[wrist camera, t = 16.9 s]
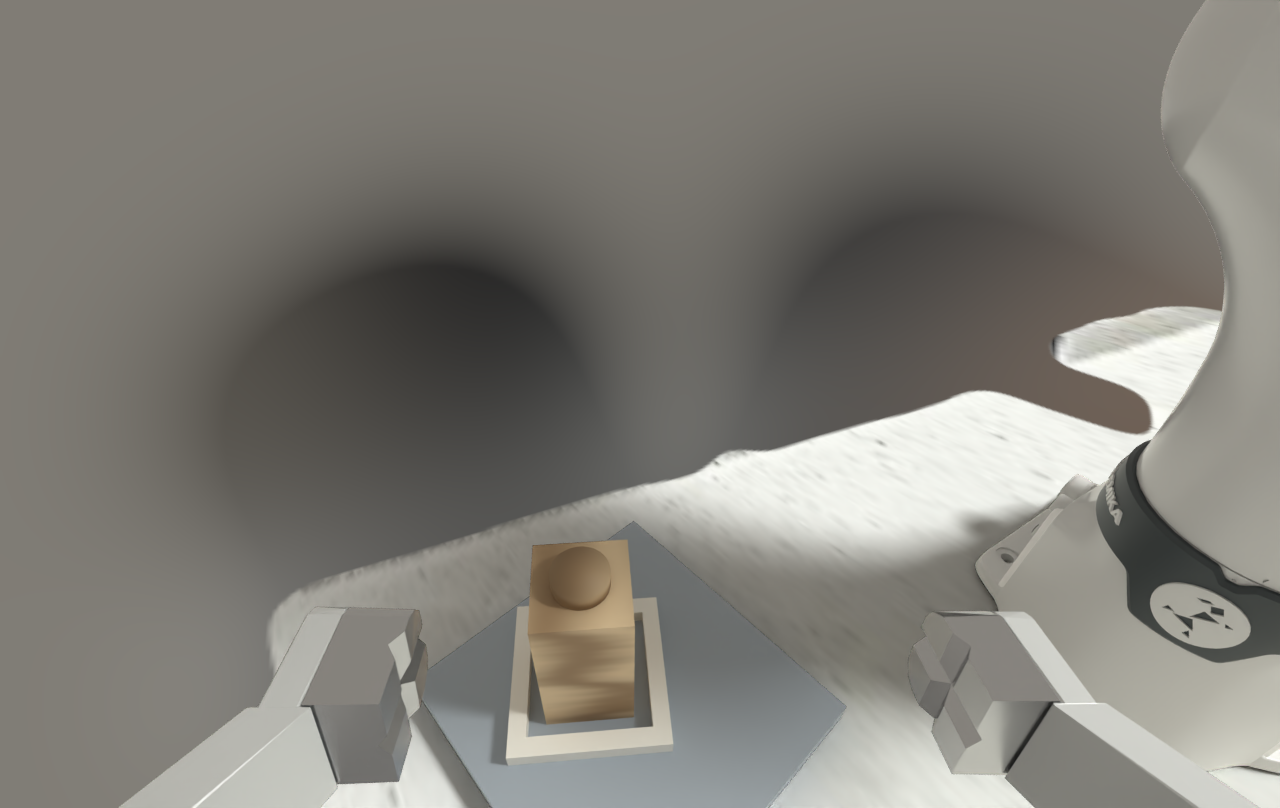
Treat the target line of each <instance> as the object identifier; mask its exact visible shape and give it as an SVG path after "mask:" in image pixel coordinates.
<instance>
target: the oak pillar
mask: <svg viewBox="0 0 1280 808" xmlns="http://www.w3.org/2000/svg"><path fill="white" fill-rule="evenodd" d="M527 634H528V639H529V644H530V649H531V653H532V658H533V663H534V668H535V672H536V677H537V682H538V686H539V691H540V696H541V701H542V705H543V710H544V715H545V720H546V724H547V725H548V724H560V723H572V722H584V721H596V720H608V719H620V718H632V717H634V667H635V622H634V610H633V598H632V586H631V574H630V563H629V551H628V539H627V540H611V541H595V542H579V543H563V544H547V545H533V548H532V565H531V582H530V599H529V616H528V633H527Z"/></svg>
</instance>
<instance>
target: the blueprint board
mask: <svg viewBox="0 0 1280 808" xmlns="http://www.w3.org/2000/svg"><path fill="white" fill-rule="evenodd" d="M627 539H628V551H629V563H630V574H631V586H632V598H633V599H637V598H652V597H656V599H657V608H658V616H659V625H660V633H661V642H662V650H663V659H664V668H665V676H666V685H667V693H668V702H669V710H670V719H671V727H672V736H673V751H671V752H660V753H648V754H637V755H625V756H614V757H602V758H591V759H579V760H568V761H556V762H545V763H533V764H522V765H510V766H508V764H507V761H506V749H507V736H508V723H509V709H510V696H511V683H512V670H513V657H514V644H515V631H516V618H517V607H521V606H529V599H530V596H529V597H528V598H527V599H525V600H524V601H522V602H521V603H520V604H518V605H517V606H515V607H514V608H513V609H511V610H510V611H509V612H507V613H506V614H504V615H503V616H502V617H500V618H499V619H498V620H496V621H495V622H493V623H492V624H491V625H489V626H488V627H486V628H485V629H484V630H482V631H481V632H480V633H478V634H477V635H475V636H474V637H473V638H471V639H470V640H469V641H467V642H466V643H464V644H463V645H462V646H460V647H459V648H457V649H456V650H455V651H453V652H452V653H451V654H449V655H448V656H446V657H445V658H444V659H442V660H441V661H440V662H438V663H437V664H435V665H434V666H433V667H431V668H430V669H428V670H427V676H426V684H425V690H424V694H423V698H422V701H423V702H424V704H425V705H426V707H427V709H428V710H429V712H430V713H431V715H432V716H433V718H434V719H435V721H436V723H437V724H438V726H439V727H440V729H441V730H442V732H443V733H444V735H445V737H446V738H447V740H448V741H449V743H450V744H451V746H452V747H453V749H454V751H455V752H456V754H457V755H458V757H459V758H460V760H461V761H462V763H463V765H464V766H465V768H466V769H467V771H468V772H469V774H470V775H471V777H472V779H473V780H474V782H475V783H476V785H477V786H478V788H479V789H480V791H481V793H482V794H483V796H484V797H485V799H486V800H487V802H488V804H489V805H490V807H491V808H769V807H770V805H771V804H772V803H773V802H774V800H775V799H776V798H777V797H778V795H779V794H780V793H781V792H782V790H783V789H784V788H785V787H786V785H787V784H788V783H789V782H790V780H791V779H792V778H793V777H794V775H795V774H796V773H797V772H798V771H799V769H800V768H801V767H802V766H803V764H804V763H805V762H806V761H807V759H808V758H809V757H810V756H811V754H812V753H813V752H814V751H815V749H816V748H817V747H818V746H819V744H820V743H821V742H822V741H823V739H824V738H825V737H826V736H827V734H828V733H829V732H830V731H831V729H832V728H833V727H834V726H835V724H836V723H837V722H838V721H839V719H840V718H841V716H842V714H843V713H844V711H845V709H846V706H845V705H844V704H843V703H842V702H841V701H840V700H838V699H837V698H836V697H835V696H834V695H833V694H832V693H830V692H829V691H828V690H827V689H826V688H825V687H824V686H822V685H821V684H820V683H819V682H818V681H817V680H816V679H814V678H813V677H812V676H811V675H810V674H809V673H808V672H806V671H805V670H804V669H803V668H802V667H801V666H799V665H798V664H797V663H796V662H795V661H794V660H793V659H791V658H790V657H789V656H788V655H787V654H786V653H785V652H783V651H782V650H781V649H780V648H779V647H778V646H777V645H775V644H774V643H773V642H772V641H771V640H770V639H769V638H767V637H766V636H765V635H764V634H763V633H762V632H761V631H759V630H758V629H757V628H756V627H755V626H754V625H752V624H751V623H750V622H749V621H748V620H747V619H746V618H744V617H743V616H742V615H741V614H740V613H739V612H738V611H736V610H735V609H734V608H733V607H732V606H731V605H730V604H728V603H727V602H726V601H725V600H724V599H723V598H722V597H720V596H719V595H718V594H717V593H716V592H715V591H714V590H712V589H711V588H710V587H709V586H708V585H707V584H705V583H704V582H703V581H702V580H701V579H700V578H699V577H697V576H696V575H695V574H694V573H693V572H692V571H691V570H689V569H688V568H687V567H686V566H685V565H684V564H683V563H681V562H680V561H679V560H678V559H677V558H676V557H675V556H673V555H672V554H671V553H670V552H669V551H668V550H667V549H665V548H664V547H663V546H662V545H661V544H660V543H658V542H657V541H656V540H655V539H654V538H653V537H652V536H650V535H649V534H648V533H647V532H646V531H645V530H644V529H642V528H641V527H640V526H639V525H638V524H637V523H636V522H634V521H633V522H632V523H630V524H629V525H627V526H626V527H625V528H623V529H622V530H621V531H619V532H618V533H616V534H615V535H614V536H612V537H611V538H609V539H608V540H607V541H611V540H627ZM634 622H635V667H634V717H632V718H620V719H608V720H596V721H584V722H572V723H560V724H548V725H547V724H546V720H545V715H544V710H543V705H542V701H541V696H540V691H539V686H538V682H537V677H536V672H535V668H534V663H533V658H532V673H531V692H530V711H529V731H528V737H533V736H545V735H557V734H569V733H581V732H593V731H604V730H616V729H628V728H640V727H652V719H651V709H650V698H649V688H648V677H647V666H646V656H645V645H644V634H643V624H642V620H640V621H634Z"/></svg>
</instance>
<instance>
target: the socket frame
mask: <svg viewBox="0 0 1280 808" xmlns="http://www.w3.org/2000/svg"><path fill="white" fill-rule="evenodd" d="M633 610H634V621H640V620H642V624H643V634H644V645H645V656H646V666H647V677H648V688H649V698H650V709H651V719H652V727H640V728H628V729H616V730H604V731H593V732H581V733H569V734H557V735H545V736H533V737H528V731H529V711H530V692H531V673H532V653H531V649H530V644H529V639H528V634H527V633H528V616H529V606H521V607H517V618H516V631H515V644H514V657H513V670H512V683H511V696H510V709H509V723H508V736H507V749H506V761H507V764H508V766H510V765H522V764H533V763H545V762H556V761H568V760H579V759H591V758H602V757H614V756H625V755H637V754H648V753H660V752H671V751H673V736H672V727H671V719H670V710H669V702H668V693H667V685H666V676H665V668H664V659H663V650H662V642H661V633H660V625H659V616H658V608H657V599H656V597H652V598H637V599H633Z"/></svg>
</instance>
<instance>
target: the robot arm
mask: <svg viewBox="0 0 1280 808" xmlns="http://www.w3.org/2000/svg"><path fill="white" fill-rule="evenodd" d="M1161 127H1162V133H1163V138H1164V143H1165V146H1166V149H1167V152H1168V155H1169V158H1170V160H1171V162H1172V164H1173V165H1174V167H1175V169H1176V171H1177V173H1178V174H1179V175H1180V177H1181V178H1182V179H1183V180H1184V181H1185V183H1186V184H1187V185H1188V186H1189V188H1190V189H1191V190H1192V191H1193V193H1194V194H1195V196H1196V197H1197V199H1198V201H1199V202H1200V204H1201V205H1202V207H1203V209H1204V210H1205V212H1206V214H1207V216H1208V218H1209V221H1210V223H1211V225H1212V227H1213V229H1214V232H1215V235H1216V238H1217V241H1218V245H1219V248H1220V251H1221V256H1222V261H1223V269H1224V302H1223V308H1222V315H1221V319H1220V323H1219V327H1218V330H1217V333H1216V336H1215V339H1214V342H1213V344H1212V346H1211V349H1210V351H1209V353H1208V355H1207V357H1206V358H1205V360H1204V362H1203V363H1202V365H1201V367H1200V369H1199V370H1198V372H1197V374H1196V375H1195V377H1194V379H1193V381H1192V382H1191V384H1190V385H1189V387H1188V388H1187V390H1186V392H1185V393H1184V395H1183V396H1182V398H1181V399H1180V401H1179V402H1178V404H1177V405H1176V407H1175V408H1174V410H1173V411H1172V413H1171V414H1170V415H1169V417H1168V418H1167V420H1166V421H1165V423H1164V424H1163V425H1162V427H1161V428H1160V429H1159V431H1158V432H1157V433H1156V435H1155V436H1154V437H1153V439H1152V440H1149V441H1146V442H1144V443H1142V444H1141V445H1139V446H1138V447H1136V448H1135V449H1134V450H1133V451H1132V452H1131V453H1130V454H1129V455H1128V456H1127V457H1126V458H1124V459H1123V460H1122V461H1121V462H1120V463H1119V464H1118V465H1117V467H1116V468H1115V469H1114V470H1113V472H1112V473H1111V475H1110V476H1109V480H1107V481H1105V482H1104V483H1102V484H1100V485H1099V484H1095V483H1093V482H1092V481H1091V480H1089V479H1087V478H1086V477H1084V476H1082V475H1079V474H1077V475H1075V476H1074V477H1073V478H1072V479H1070V480H1069V482H1068V483H1067V484H1066V485H1065V486H1064V487H1063V488H1062V490H1061V491H1060V493H1059V494H1058V497H1057V498H1056V499H1055V500H1054V501H1053V503H1052V504H1051V505H1050V507H1049V508H1048V509H1046V510H1045V511H1043V512H1042V513H1041V514H1039V515H1038V516H1036V517H1035V518H1033V519H1032V520H1031V521H1029V522H1028V523H1026V524H1025V525H1023V526H1022V527H1020V528H1019V529H1018V530H1016V531H1015V532H1013V533H1012V534H1010V535H1009V536H1007V537H1006V538H1005V539H1003V540H1002V541H1000V542H999V543H997V544H996V545H994V546H993V547H992V548H990V549H989V550H987V551H986V552H984V553H983V554H982V556H981V557H980V558H979V559H978V560H977V561H976V564H975V567H976V571H977V573H978V575H979V577H980V579H981V580H982V582H983V584H984V585H985V586H986V588H987V589H988V591H989V592H990V594H991V595H992V596H993V598H994V599H995V602H996V604H997V607H998V611H999V612H989V611H933V612H931V613H930V614H928V615H927V616H926V617H925V619H924V622H923V624H922V626H921V628H922V630H923V631H924V633H925V635H926V636H925V637H924V638H923V639H921V640H920V641H918V642H917V643H916V644H914V645H913V647H912V650H911V652H910V655H909V658H908V676H909V680H910V684H911V688H912V691H913V693H914V695H915V698H916V700H917V702H918V704H919V705H920V706H921V707H922V708H923V709H924V710H925V711H927V712H928V713H929V714H930V715H931V716H932V717H934V723H933V727H932V734H933V736H934V738H935V740H936V742H937V744H938V746H939V749H940V751H941V753H942V755H943V757H944V759H945V761H946V763H947V765H948V767H949V769H950V772H951V774H978V775H1006V777H1005V779H1006V780H1007V781H1008V782H1009V783H1010V784H1011V785H1012V786H1013V787H1014V788H1015V789H1016V790H1017V791H1018V792H1019V793H1020V794H1021V795H1022V796H1023V797H1025V798H1026V799H1027V800H1028V801H1029V802H1030V803H1031V804H1032V805H1033V806H1034V807H1035V808H1260V807H1259V806H1257V805H1256V804H1254V803H1253V802H1251V801H1250V800H1248V799H1247V798H1245V797H1244V796H1242V795H1241V794H1239V793H1238V792H1236V791H1235V790H1233V789H1232V788H1230V787H1229V786H1228V785H1226V784H1225V783H1223V782H1222V781H1220V780H1219V779H1217V778H1216V777H1214V776H1213V775H1211V774H1210V773H1208V772H1207V771H1213V770H1218V769H1223V768H1228V767H1233V766H1250V767H1254V768H1258V769H1262V770H1267V771H1271V772H1275V773H1280V0H1206V1H1205V2H1204V4H1203V5H1202V6H1201V8H1200V9H1199V11H1198V12H1197V14H1196V15H1195V17H1194V18H1193V19H1192V21H1191V22H1190V24H1189V26H1188V28H1187V30H1186V31H1185V33H1184V35H1183V37H1182V39H1181V40H1180V42H1179V45H1178V47H1177V49H1176V51H1175V53H1174V55H1173V58H1172V60H1171V63H1170V67H1169V69H1168V73H1167V75H1166V79H1165V84H1164V88H1163V93H1162V103H1161ZM1002 559H1003V560H1005V561H1007V562H1008V563H1006V562H1005V561H1003V560H1002ZM421 628H422V621H421V617H420V612H419V610H415V609H383V608H352V607H350V608H342V607H315V608H314V609H313V610H312V611H311V612H310V613H309V614H308V615H307V616H306V617H305V619H304V621H303V623H302V625H301V627H300V629H299V630H298V632H297V634H296V636H295V638H294V640H293V642H292V644H291V646H290V647H289V649H288V651H287V653H286V655H285V657H284V659H283V661H282V662H281V664H280V666H279V668H278V670H277V672H276V674H275V676H274V678H273V679H272V681H271V683H270V685H269V687H268V689H267V691H266V693H265V695H264V696H263V698H262V700H261V702H260V704H259V706H258V707H247V708H245V709H244V710H243V711H242V712H240V713H239V714H238V715H237V716H235V717H234V718H233V719H231V720H230V721H229V722H228V723H226V724H225V725H224V726H222V727H221V728H220V729H219V730H217V731H216V732H215V733H213V734H212V735H211V736H209V737H208V738H207V739H206V740H204V741H203V742H202V743H201V744H199V745H198V746H197V747H195V748H194V749H193V750H192V751H190V752H189V753H188V754H187V755H185V756H184V757H183V758H181V759H180V760H179V761H178V762H176V763H175V764H174V765H172V766H171V767H170V768H168V769H167V770H166V771H165V772H164V773H162V774H161V775H160V776H158V777H157V778H156V779H154V780H153V781H152V782H151V783H149V784H148V785H147V786H146V787H144V788H143V789H141V790H140V791H139V792H138V793H136V794H135V795H134V796H133V797H131V798H130V799H129V800H127V801H126V802H125V803H124V804H122V805H121V806H120V807H118V808H321V807H322V806H323V805H324V803H325V802H326V801H327V800H328V799H329V798H330V797H331V795H332V794H333V793H334V792H335V791H336V790H337V789H338V786H337V784H354V783H378V782H399V779H400V775H401V772H402V768H403V765H404V761H405V758H406V754H407V751H408V747H409V744H410V740H411V737H412V735H411V730H410V725H409V720H408V719H409V718H410V717H411V716H412V715H413V714H414V713H415V712H416V711H417V710H418V709H419V708H420V705H421V701H422V698H423V694H424V690H425V684H426V676H427V669H428V667H427V649H426V644H425V643H423V642H422V641H421V640H420V639H419V638H418V637H419V634H420V631H421Z"/></svg>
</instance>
